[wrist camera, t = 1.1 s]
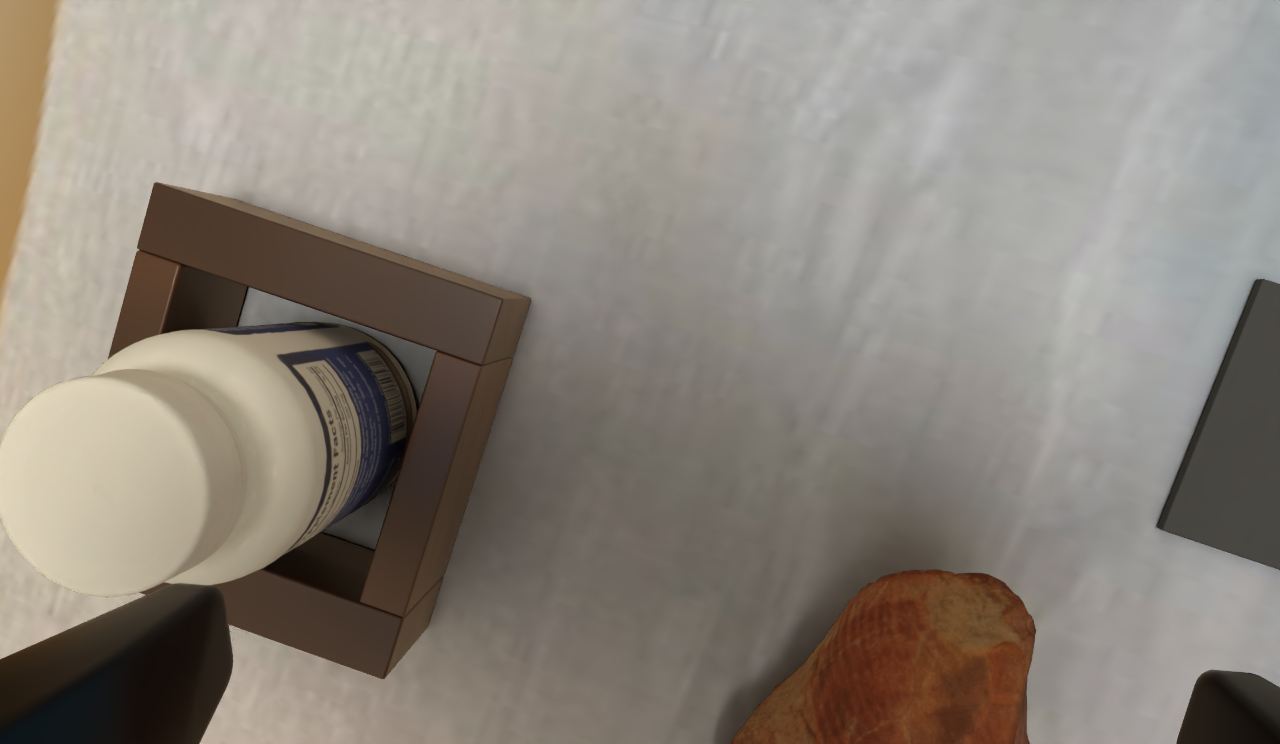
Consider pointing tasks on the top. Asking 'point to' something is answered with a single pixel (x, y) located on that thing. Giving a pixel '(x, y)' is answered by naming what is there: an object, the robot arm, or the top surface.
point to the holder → (440, 438)
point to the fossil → (910, 668)
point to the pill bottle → (202, 454)
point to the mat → (1237, 445)
